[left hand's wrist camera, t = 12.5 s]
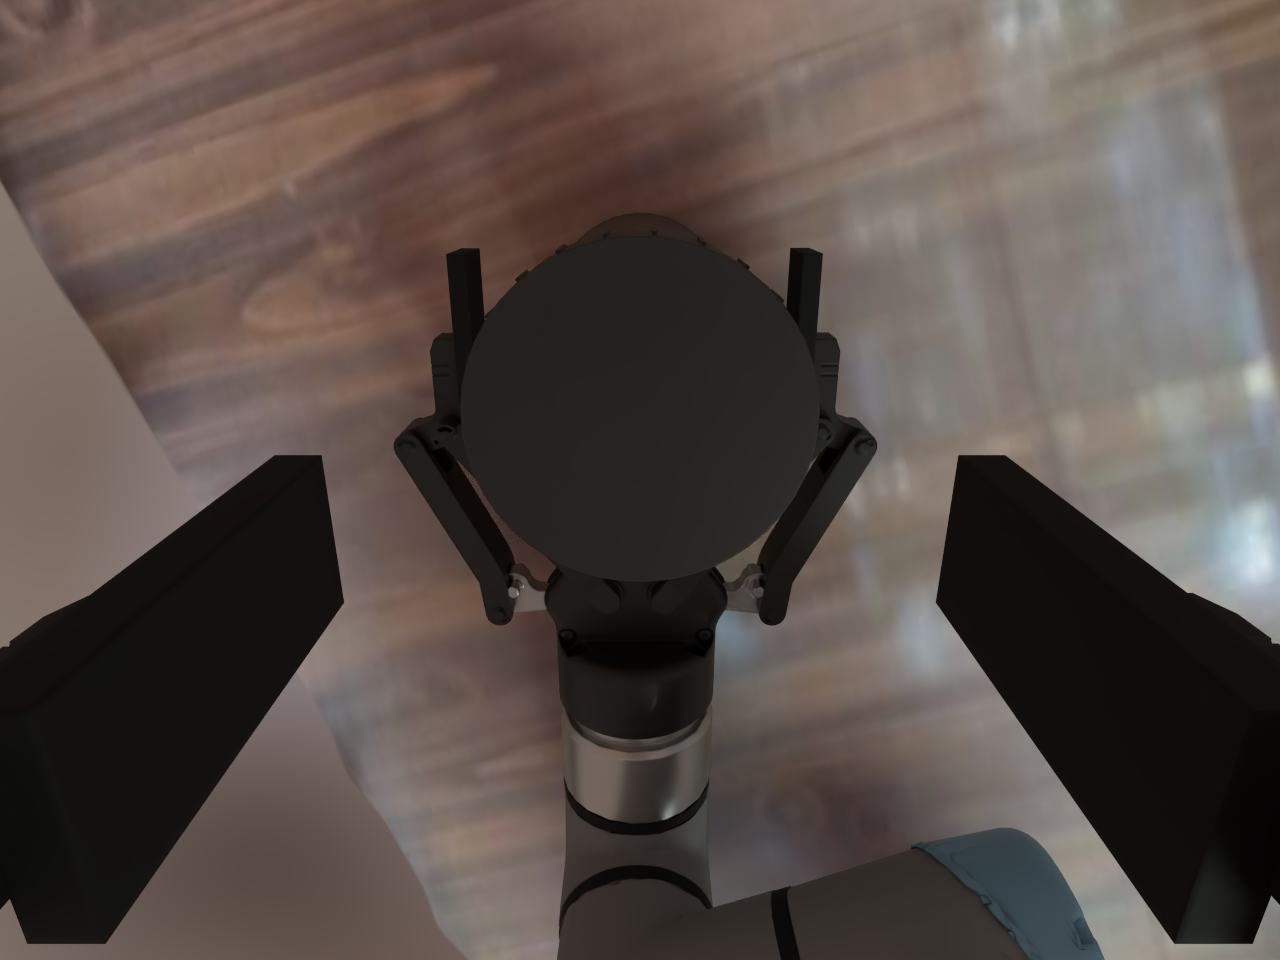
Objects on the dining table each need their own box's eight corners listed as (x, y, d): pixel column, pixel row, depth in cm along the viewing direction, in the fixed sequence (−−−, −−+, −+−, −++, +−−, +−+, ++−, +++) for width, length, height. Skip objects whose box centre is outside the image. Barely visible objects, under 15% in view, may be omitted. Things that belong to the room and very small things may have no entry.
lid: (560, 161, 19) (550, 159, 17) (868, 327, 20) (893, 344, 18) (426, 466, 22) (404, 496, 20) (704, 593, 23) (711, 634, 21)
